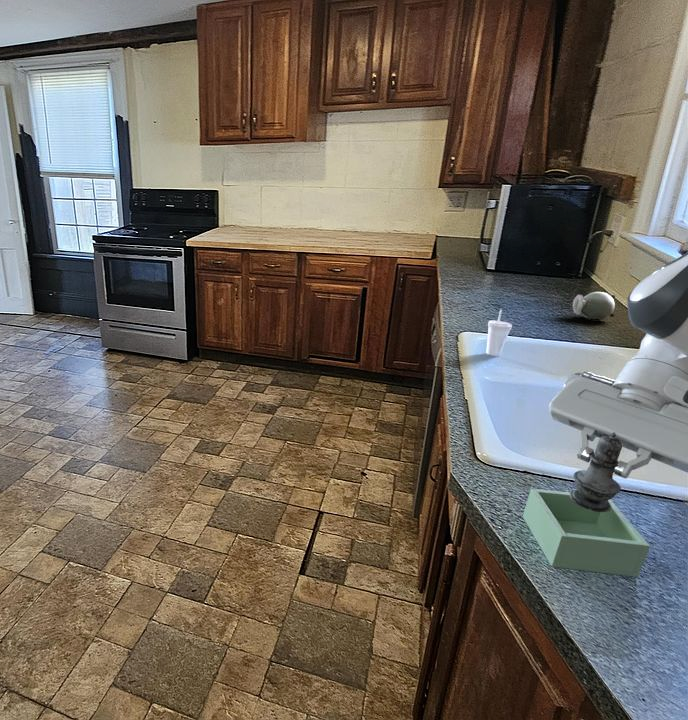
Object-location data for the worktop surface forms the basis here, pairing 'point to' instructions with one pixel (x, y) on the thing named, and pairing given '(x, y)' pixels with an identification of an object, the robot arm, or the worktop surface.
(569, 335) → the worktop surface
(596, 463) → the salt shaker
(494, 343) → the smoothie
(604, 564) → the bin
